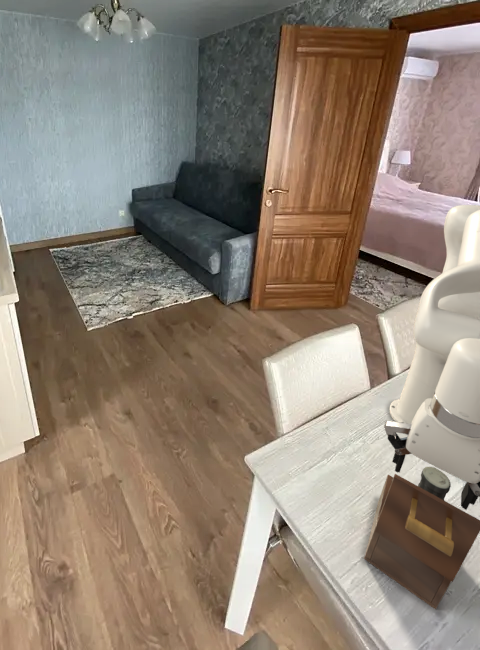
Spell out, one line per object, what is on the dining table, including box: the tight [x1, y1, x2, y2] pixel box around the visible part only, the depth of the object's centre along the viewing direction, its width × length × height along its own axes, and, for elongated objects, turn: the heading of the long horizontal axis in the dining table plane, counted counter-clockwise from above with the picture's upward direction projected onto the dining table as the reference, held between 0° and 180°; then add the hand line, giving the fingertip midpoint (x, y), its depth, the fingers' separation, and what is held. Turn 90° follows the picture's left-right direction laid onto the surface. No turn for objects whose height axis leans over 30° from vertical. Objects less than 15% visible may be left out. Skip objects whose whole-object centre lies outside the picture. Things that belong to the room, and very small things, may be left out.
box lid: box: [375, 473, 480, 583], centre depth 54 cm, size 14×11×6 cm
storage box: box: [363, 474, 452, 610], centre depth 65 cm, size 13×11×9 cm
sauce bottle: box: [417, 466, 452, 501], centre depth 63 cm, size 7×6×20 cm
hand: (429, 483), depth 61 cm, fingers open, 9 cm apart
